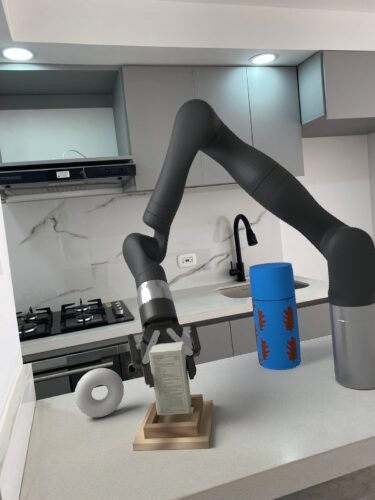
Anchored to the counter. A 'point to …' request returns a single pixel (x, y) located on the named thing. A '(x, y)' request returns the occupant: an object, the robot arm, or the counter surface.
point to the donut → (104, 405)
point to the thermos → (275, 315)
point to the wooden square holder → (176, 428)
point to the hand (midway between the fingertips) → (172, 381)
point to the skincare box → (170, 378)
